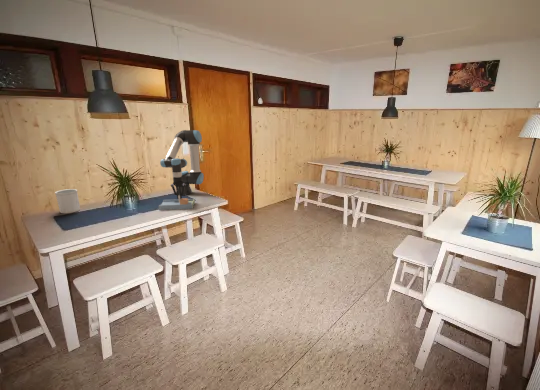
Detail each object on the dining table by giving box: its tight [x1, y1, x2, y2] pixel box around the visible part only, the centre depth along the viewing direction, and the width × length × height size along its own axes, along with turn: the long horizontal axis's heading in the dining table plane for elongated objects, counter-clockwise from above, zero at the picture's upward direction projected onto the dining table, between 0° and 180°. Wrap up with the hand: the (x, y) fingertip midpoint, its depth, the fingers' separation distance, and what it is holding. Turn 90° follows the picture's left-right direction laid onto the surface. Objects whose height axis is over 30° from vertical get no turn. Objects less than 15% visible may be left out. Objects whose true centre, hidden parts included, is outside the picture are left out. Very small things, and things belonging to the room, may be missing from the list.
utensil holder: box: [54, 188, 81, 214], centre depth 219 cm, size 15×15×18 cm
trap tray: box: [158, 198, 196, 211], centre depth 233 cm, size 16×28×4 cm, turn 97°
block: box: [180, 197, 189, 205], centre depth 233 cm, size 6×6×4 cm
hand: (180, 202), depth 233 cm, fingers closed
